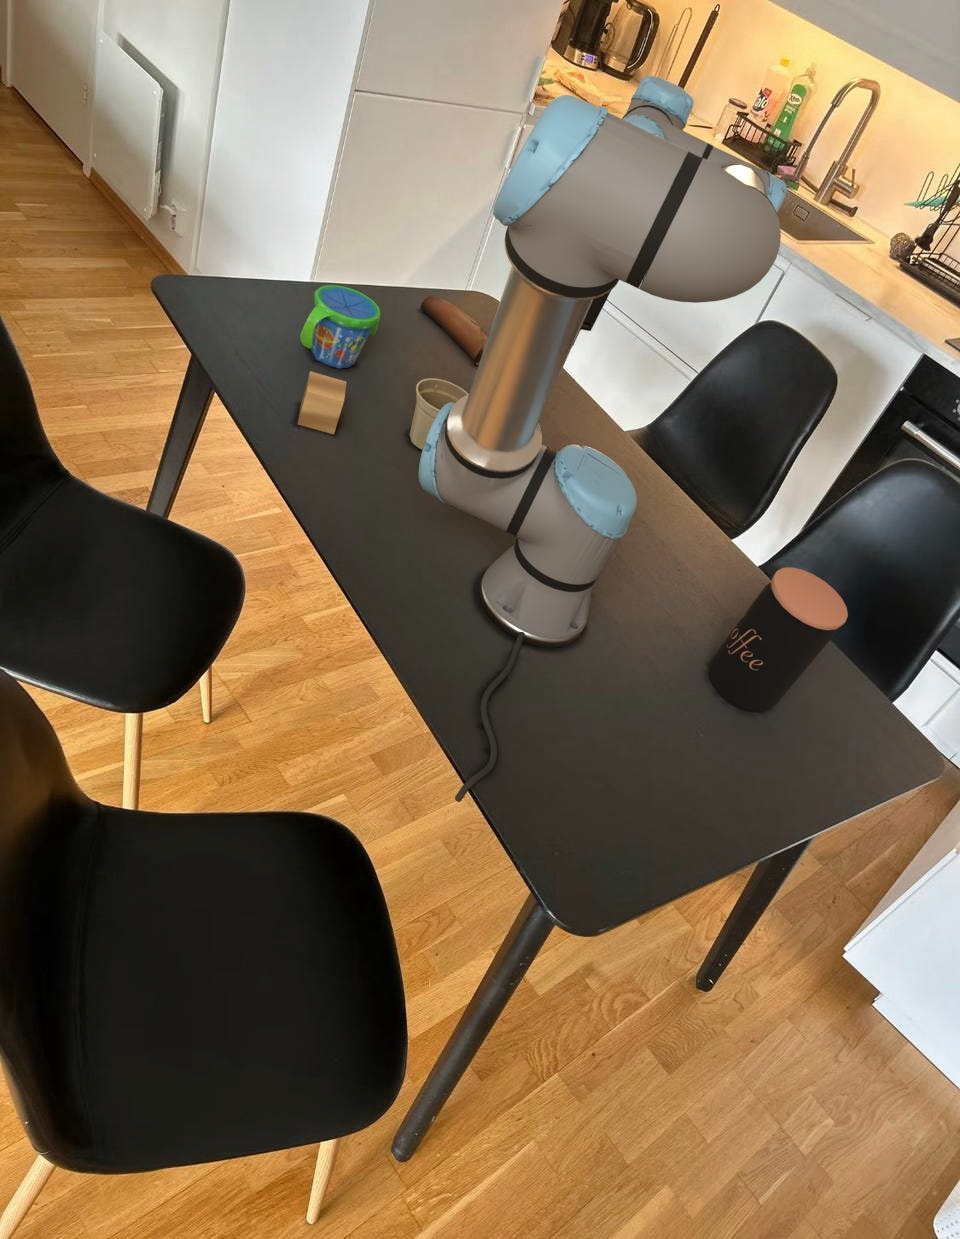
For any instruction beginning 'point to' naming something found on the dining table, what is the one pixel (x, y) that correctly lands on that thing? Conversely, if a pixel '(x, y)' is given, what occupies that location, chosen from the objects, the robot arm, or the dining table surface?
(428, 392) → the flower pot
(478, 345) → the sunglasses case
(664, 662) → the dining table surface
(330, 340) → the snack cup
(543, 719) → the dining table surface
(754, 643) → the coffee jar
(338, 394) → the maple block
